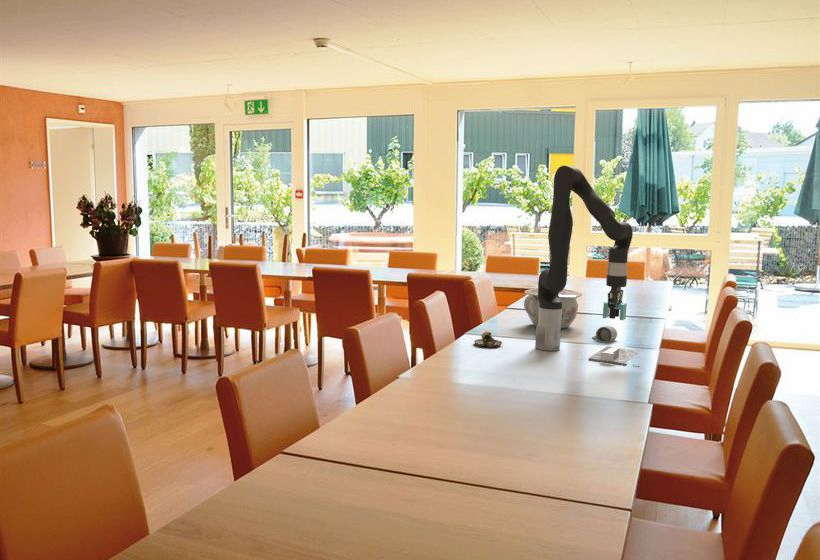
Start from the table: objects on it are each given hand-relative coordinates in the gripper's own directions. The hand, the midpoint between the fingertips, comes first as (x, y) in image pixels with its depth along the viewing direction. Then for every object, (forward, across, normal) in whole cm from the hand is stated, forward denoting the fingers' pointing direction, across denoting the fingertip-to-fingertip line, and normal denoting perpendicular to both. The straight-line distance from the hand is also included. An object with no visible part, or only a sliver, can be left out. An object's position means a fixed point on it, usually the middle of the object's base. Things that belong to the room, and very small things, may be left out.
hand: (614, 317), depth 271 cm
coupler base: (+17, +6, 0) cm, 18 cm away
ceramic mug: (+17, +32, +12) cm, 39 cm away
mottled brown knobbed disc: (+17, -6, +50) cm, 53 cm away
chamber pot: (+17, +51, +43) cm, 69 cm away
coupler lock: (0, 0, 0) cm, 0 cm away
